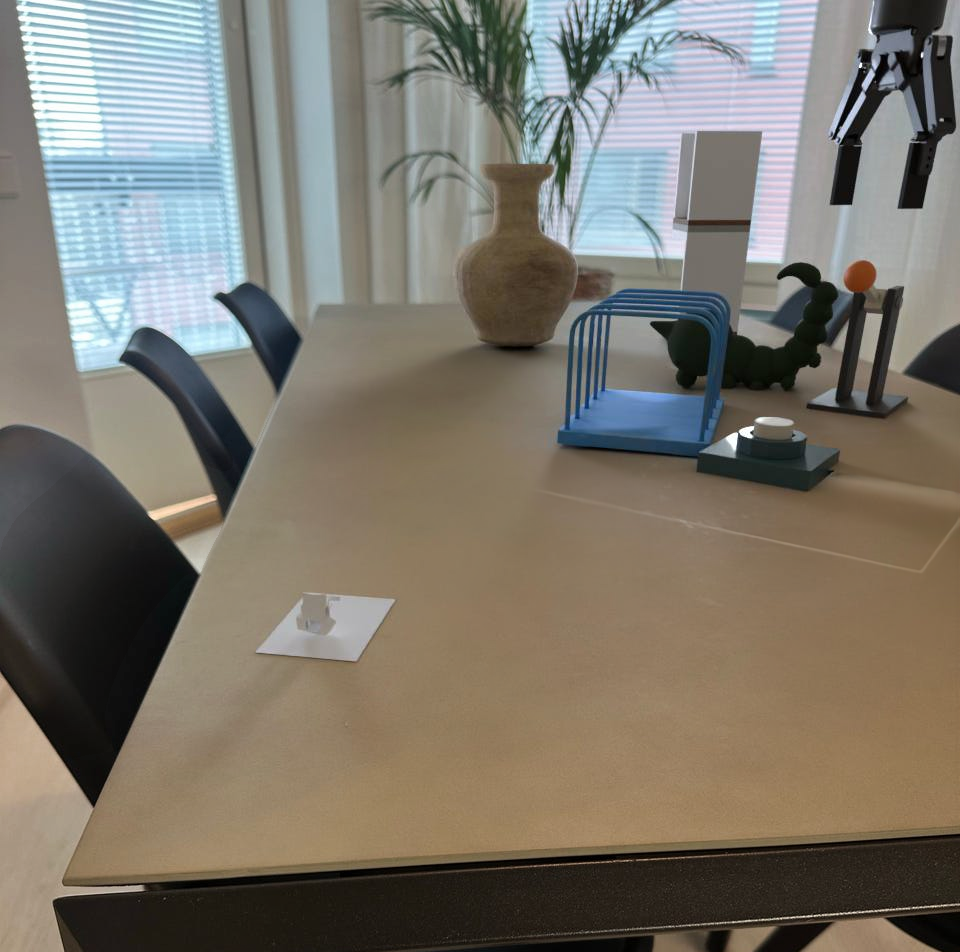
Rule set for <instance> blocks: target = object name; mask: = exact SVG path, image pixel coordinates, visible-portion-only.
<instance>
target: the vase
mask: <svg viewBox="0 0 960 952" xmlns="http://www.w3.org/2000/svg"><path fill="white" fill-rule="evenodd" d="M555 170H556V166H555V164H553V163H482V164H480V165H479V172H480V175H481V176H482V177H483V178H484V179H486V180H488V181H489V182H490V183H491V185H492V187H493V222H492V223H493V224H492V227H491V229H490V231H489V232H488V233H487V234H485V235H484V236H483V237H480V238H478V239H476V240H474V241H473V242H471V243H469V244H468V245H466V246H465V247H464V248H463V249H462V250H460V252H459V253H458V254H457V256H456V258H455V260H454V263H453V267H452V268H453V280H454V288H455V291H456V295H457V298H458V301H459V303H460V305H461V307H462V309H463V311H464V313H465V315H466V316H467V318H468V319H469V322H470V323H471V325H472V327H473V331H474V336H475V338H476V339H477V340H479V341H480V342H482V343H486V344H489V345H493V346H497V345H498V347H504V346H526V347H533V346H537V345H541V344H543V343H547V342H549V341H551V340H552V339H553V338H554V336H555V334H556V328H557V326H558V324H559V323H560V321H561V319H562V318H563V316H564V314H565V313H566V311H567V309H568V308H569V305H570V304H571V302H572V300H573V296H574V294H575V291H576V287H577V281H578V274H579V266H578V261H577V258H576V257H575V255H574V253H572V251H571V250H570V249H569V248H568V247H567V246H565V245H564V244H563V243H561V242H559V241H557V240H556V239H554V238H552V237H550V236H548V235H547V234H545V233H544V232H543V231H542V229H541V225H540V193H541V192H540V191H541V186H542V184H543V183H544V182H545V181H546V180H547V179H550V178H551V177H552V176H553V175H554V173H555ZM532 345H533V346H532Z"/></svg>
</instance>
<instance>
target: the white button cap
mask: <svg viewBox="0 0 960 952" xmlns="http://www.w3.org/2000/svg"><path fill="white" fill-rule="evenodd" d="M754 419H755V420H754V423H753V426H754V429H753V436H756V437H758V438H765V439H773V440H785V439H792V433H793V429H794V426H795V422H794V420H791V419H790V418H789V419H788V418H784V417H778V416H762V417H757V418H754Z"/></svg>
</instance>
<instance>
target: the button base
mask: <svg viewBox="0 0 960 952" xmlns="http://www.w3.org/2000/svg"><path fill="white" fill-rule="evenodd" d="M753 429H754V425H753V426H746V427H743V428H741V429H739V430H738V431H737V432H733V433H731V434H729V435H727V436H726V437H724V438H722V439H720V440H718V441H717V442H715V443H713V444H711V446H709V447H707V448H705V449H704V450H702V451H700V452H699V454H698V457H697V463H696V473H702V474H707V475H712V476H718V477H722V478H723V477H724V478H727V479H734V480H738V481H739V480H740V481H744V482H749V483H756V484H761V485H766V486H772V487H778V488H783V489H788V490H789V489H790V490H794V491H799V492H805V493H808V492H810V491H811V490H812V489H813V488H814V487H816V486H817V485H818V484H820V483H821V482H822V481H823V480H825V479H826V478H827V477H828V476H830V475H832V473H834V472H835V470H832V468H833V467H834V466H835V465H837V464H838V463H839V462H840V461H839V460H840V454H841V449H840V448H835V447H828V446H822V445H817V444H816V445H815V444H810V443H807V442H808V436H807V435H806V434H805V432H803V431H800V430H797V429H794V428H793V433H792V439H785V440H773V439H765V438H758V437H756V436H753Z"/></svg>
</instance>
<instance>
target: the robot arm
mask: <svg viewBox="0 0 960 952" xmlns="http://www.w3.org/2000/svg"><path fill="white" fill-rule="evenodd" d="M948 1H949V0H873V2H872V8H871V14H870V18H869V19H870V20H869V26H868V31H869V33H870V34H871V35H873V36H875V37H876V43H875V45H874V48H859V49H857V51H856V53H855V57H854V61H853V66H852V71H851V74H850V77H849V79H848V81H847V84H846V87H845V89H844V91H843V95H842V97H841V100H840V102H839V105H838V108H837V109H836V112H835V115H834V118H833V120H832V123H831V125H830V127H829V131H828V134H827V139H828V140H829V141H834V143H835V145H836V146H837V148H836V149H837V151H836V155H835V156H836V157H835V163H834V170H833V173H834V174H833V180H832V186H831V191H830V192H831V193H830V198H829V199H830V200H829V206H853V204H854V203H853V202H854V196H855V192H856V191H855V190H856V183H857V178H858V173H859V167H860V160H861V154H862V148H863V144H864V143H863V141H862V139H861V138H862V136H863V135H864V133H865V131H866V130H867V128H868V126H869V125H870V123H871V121H872V120H873V118H874V116H875V114H876V113H877V111H878V110H879V107H880V106H881V104H882V102H883V101H884V99H885V98H886V97H887V96H889V95H891V94H892V92H894V91H895V92H896V91H900V92H902V95H903V98H904V102H905V106H906V109H907V112H908V115H909V119H910V122H911V127H912V129H913V133H914V135H912V137H911V138H910V141H911V142H909V143H908V144H909V145H908V150H907V155H906V160H905V165H904V171H903V174H902V175H903V176H902V182H901V187H900V190H899V191H900V192H899V197H898V201H897V208H896V209H897V210H918V209H919V210H922V209H924V204H925V198H926V194H927V189H928V184H929V180H930V176H931V174H932V171H933V168H934V163H935V158H936V153H937V148H938V143H939V142H941V141H942V139H943V138H944V137H945V136H947V135H953V134H954V133H955V132H956V129H957V119H956V117H957V116H956V107H955V96H954V95H955V94H954V83H953V73H952V62H951V57H952V50H953V42H954V37H953V36H952V35H950V34H948V35H947V34H933V33H937V32H938V31H940V30H941V29H942V28H943V26H944V21H945V16H946V11H947V6H948ZM941 119H942V121H941Z"/></svg>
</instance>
